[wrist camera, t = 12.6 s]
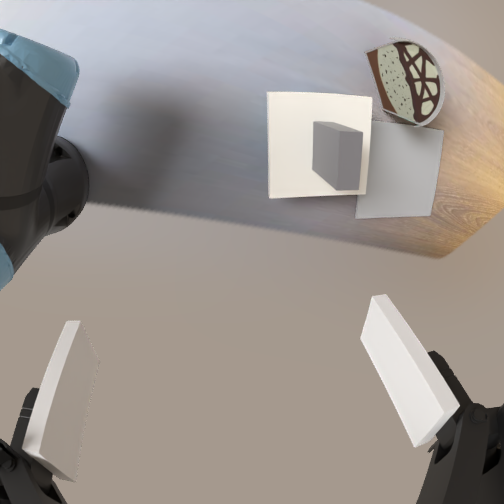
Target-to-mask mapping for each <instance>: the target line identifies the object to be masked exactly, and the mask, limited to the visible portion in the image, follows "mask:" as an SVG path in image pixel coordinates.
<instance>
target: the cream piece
mask: <svg viewBox="0 0 504 504" xmlns="http://www.w3.org/2000/svg"><path fill="white" fill-rule="evenodd" d="M371 117H372V97H365V96H355V95H344V94H330V93H311V92H267V125H268V196H269V198H270V199H272V198H289V197H307V196H329V195H358V194H366V185H367V175H368V164H369V151H370V136H371Z"/></svg>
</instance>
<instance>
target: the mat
mask: <svg viewBox="0 0 504 504" xmlns="http://www.w3.org/2000/svg"><path fill="white" fill-rule="evenodd" d="M443 135H444V131H443V130H438V129H432V128H426V127H414V125H407V124H399V123H391V122H383V121H374V120H371V136H370V151H369V164H368V175H367V185H366V194H358V196H357V204H356V212H355V218H356V219H363V218H386V217H414V216H430V215H431V210H432V205H433V200H434V195H435V190H436V184H437V178H438V172H439V166H440V159H441V152H442V144H443Z"/></svg>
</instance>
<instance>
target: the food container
mask: <svg viewBox="0 0 504 504" xmlns="http://www.w3.org/2000/svg"><path fill="white" fill-rule="evenodd" d="M390 39H394V40H396V41H394V42H391V43H388V44H385V45H382V46H380V47H377V48H374V49H371V50H369V51H366V52H364V53H365V56H366V58H367V61H368V64H369V67H370V70H371V74H372V77H373V80H374V83H375V86H376V90H377V93H378V97H379V100H380V104H381V107H382V110H384V111H387V112H389V113H392V114H394V115H396V116H399V117H401V118H404V119H406V120H408V121H411V122H413V123H415V124H417V125H416V126H414V127H422V126H424V125H426V124H428V123H430V122H431V121H432V120H433V119H434V118H435V117H436V116H437V115H438V113H439V111H440V109H441V107H442V105H443V101H444V97H445V82H444V77H443V74H442V70H441V68H440V66H439V64H438V62H437V61H436V59H435V58H434V56H433V55H432V54H431V53H430V52H429V51H428V50H427V49H426V48H424V47H423V46H422V45H420V44H418V43H416V42H414V41H411V40H408V39H404V38H397V37H392V38H390Z"/></svg>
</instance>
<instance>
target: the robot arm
mask: <svg viewBox="0 0 504 504" xmlns="http://www.w3.org/2000/svg"><path fill="white" fill-rule="evenodd" d="M78 77H79V65H78V63H77V61H76V60H75V59H74V58H72V57H71V56H69V55H66V54H64V53H62V52H60V51H57V50H55V49H53V48H50V47H48V46H45V45H43V44H40V43H38V42H35V41H33V40H30V39H27V38H25V37H22V36H19V35H17V34H14V33H11V32H8V31H6V30H3V29H0V291H1V289H3V287H5V285H7V283H9V282H10V281H11V280H12V278H13V275H14V274H15V273H16V271H17V270H18V269H19V267H20V266H21V265H22V263H23V262H24V261H25V260H26V258H27V257H28V256H29V255H30V253H31V252H32V251H33V250H34V249H35V247H36V246H37V245H38V244H39V242H40V241H41V240H42V239H43V238H44V237H45V236H47V235H50V234H53V233H56V232H58V231H61V230H63V229H65V228H66V227H68V226H69V225H70V224H71V223H72V222H73V221H74V220H75V219H76V218H77V217H78V215H79V214H80V213H81V211H82V210H83V208H84V206H85V203H86V201H87V197H88V191H89V179H88V173H87V169H86V166H85V163H84V161H83V159H82V157H81V155H80V154H79V152H78V151H77V150H76V148H75V147H74V146H73V145H72V144H71V143H69V142H68V141H67V140H65V139H63V138H61V137H59V136H57V134H58V132H59V129H60V126H61V123H62V120H63V117H64V115H65V112H66V109H67V108H68V109H69V107H70V99H71V96H72V93H73V90H74V88H75V85H76V82H77V80H78ZM360 339H361V341H362V343H363V344H364V346H365V348H366V350H367V352H368V354H369V356H370V358H371V360H372V362H373V364H374V366H375V368H376V370H377V372H378V374H379V376H380V378H381V379H382V381H383V383H384V385H385V387H386V389H387V391H388V393H389V396H390V398H391V399H392V402H393V404H394V405H395V408H396V410H397V412H398V414H399V416H400V418H401V420H402V422H403V424H404V427H405V429H406V431H407V433H408V435H409V437H410V439H411V442H412V444H413V446H414V447H417V446H420V445H422V444H424V443H427V442H429V441H430V440H431V439H432V438H433V437H434V436H435V435H436V436H437V439H438V440H437V441H436V442H435V443H434V444H433V445H432V446H431V447H430V449H429V451H428V452H431V451H432V450H433V449H434V451H433V455H432V458H431V462H430V465H429V468H428V472H427V474H426V478H425V481H424V484H423V487H422V489H421V492H420V495H419V498H418V500H417V503H416V504H504V404H503V405H502V406H501V407H494V408H485V407H484V406H483V405H480V404H479V403H473V402H472V401H471V399H470V398H469V396H468V395H467V393H466V392H465V390H464V388H463V387H462V385H461V384H460V382H459V381H458V379H457V377H456V376H454V373H453V371H452V370H451V369H450V368H449V365H448V364H447V362H446V361H445V359H444V358H443V357H442V356H441V355H439V354H438V353H437V352H435V351H431V352H428V353H427V352H426V351H425V349H424V347H423V346H422V344H421V343H420V342H419V340H418V339H417V337H416V336H415V334H414V333H413V331H412V330H411V328H410V327H409V325H408V324H407V323H406V321H405V320H404V318H403V317H402V315H401V314H400V313H399V311H398V310H397V308H396V307H395V306H394V304H393V303H392V302H391V300H390V299H389V297H388V296H387V295H386V294H383V295H377V296H372V298H371V302H370V306H369V310H368V314H367V318H366V321H365V324H364V328H363V331H362V335H361V338H360ZM99 364H100V360H99V358H98V357H97V354H96V352H95V350H94V348H93V346H92V344H91V342H90V340H89V338H88V336H87V334H86V331H85V329H84V327H83V325H82V322H81V321H67V322H66V324H65V326H64V328H63V331H62V333H61V335H60V338H59V340H58V342H57V345H56V347H55V350H54V352H53V355H52V357H51V360H50V362H49V365H48V368H47V370H46V373H45V376H44V379H43V381H42V384H41V387H40V389H39V388H32V389H31V391H30V392H29V393H28V394H27V396H26V397H25V400H24V403H23V406H22V408H23V409H22V410H21V412H20V417H19V418H18V421H17V425H16V428H15V431H14V435H13V438H12V442H11V445H10V446H9V445H8V444H7V443H6V442H5V441H3V440H2V439H0V504H67V503H66V501H65V499H64V498H63V496H62V494H61V493H60V491H59V489H58V487H57V486H56V484H55V482H54V481H53V480H52V475H53V474H54V475H55V476H56V477H58V478H59V479H62V480H67V481H72V482H76V477H77V470H78V463H79V457H80V451H81V445H82V439H83V434H84V429H85V423H86V418H87V414H88V409H89V405H90V400H91V396H92V391H93V387H94V383H95V379H96V375H97V371H98V367H99ZM500 446H501V447H500Z"/></svg>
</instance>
